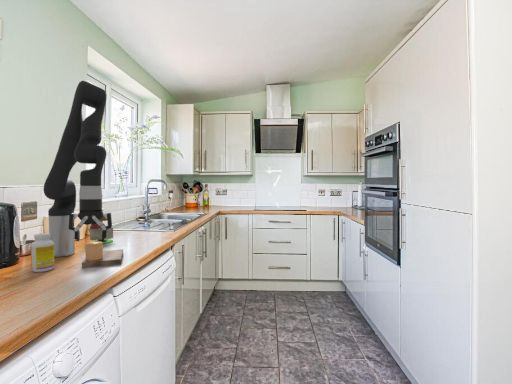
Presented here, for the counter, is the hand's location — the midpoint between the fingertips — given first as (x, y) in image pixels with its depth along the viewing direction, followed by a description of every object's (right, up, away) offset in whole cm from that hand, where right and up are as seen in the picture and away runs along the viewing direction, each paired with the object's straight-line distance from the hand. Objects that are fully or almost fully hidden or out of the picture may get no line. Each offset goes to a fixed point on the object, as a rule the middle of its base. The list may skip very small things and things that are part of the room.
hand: (91, 240), depth 112 cm
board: (+2, -9, +6) cm, 11 cm away
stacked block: (-18, -8, +41) cm, 46 cm away
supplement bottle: (-13, -10, -7) cm, 18 cm away
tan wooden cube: (+1, -7, +1) cm, 7 cm away
